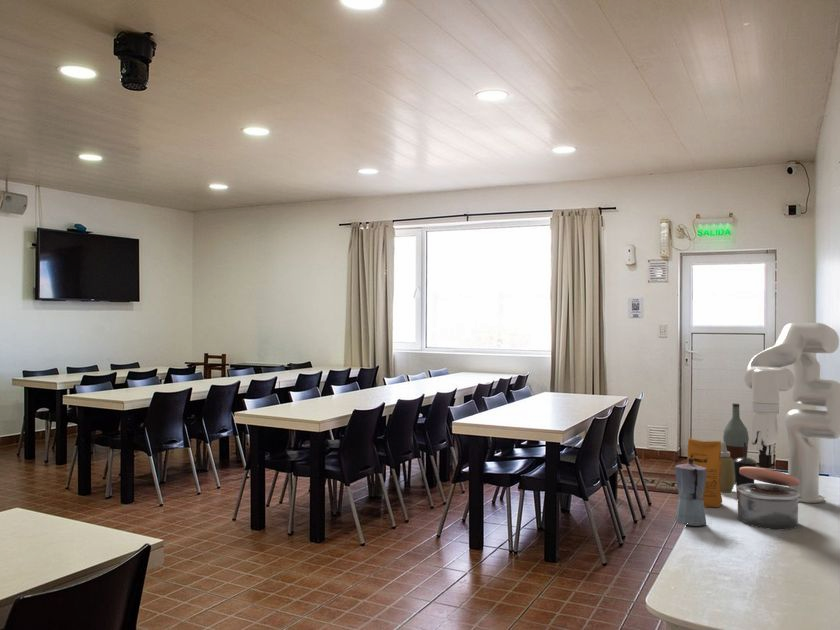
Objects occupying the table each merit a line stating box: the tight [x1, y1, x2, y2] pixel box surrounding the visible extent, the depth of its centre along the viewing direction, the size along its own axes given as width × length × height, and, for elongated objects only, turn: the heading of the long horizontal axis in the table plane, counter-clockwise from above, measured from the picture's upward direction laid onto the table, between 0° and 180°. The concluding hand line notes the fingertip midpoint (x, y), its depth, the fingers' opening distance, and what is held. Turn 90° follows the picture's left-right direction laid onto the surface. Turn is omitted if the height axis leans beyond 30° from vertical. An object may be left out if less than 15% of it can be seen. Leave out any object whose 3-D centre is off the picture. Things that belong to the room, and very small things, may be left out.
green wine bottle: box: [722, 403, 750, 483], centre depth 280 cm, size 9×9×30 cm
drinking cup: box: [733, 442, 758, 500], centre depth 251 cm, size 8×8×20 cm
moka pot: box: [674, 458, 707, 527], centre depth 221 cm, size 10×15×20 cm, turn 174°
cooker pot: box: [736, 482, 799, 530], centre depth 224 cm, size 18×18×10 cm
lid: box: [739, 466, 799, 487], centre depth 225 cm, size 17×17×3 cm
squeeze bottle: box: [720, 441, 736, 493], centre depth 263 cm, size 8×8×18 cm
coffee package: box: [686, 438, 723, 508], centre depth 245 cm, size 10×12×22 cm
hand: (765, 467), depth 223 cm, fingers closed
